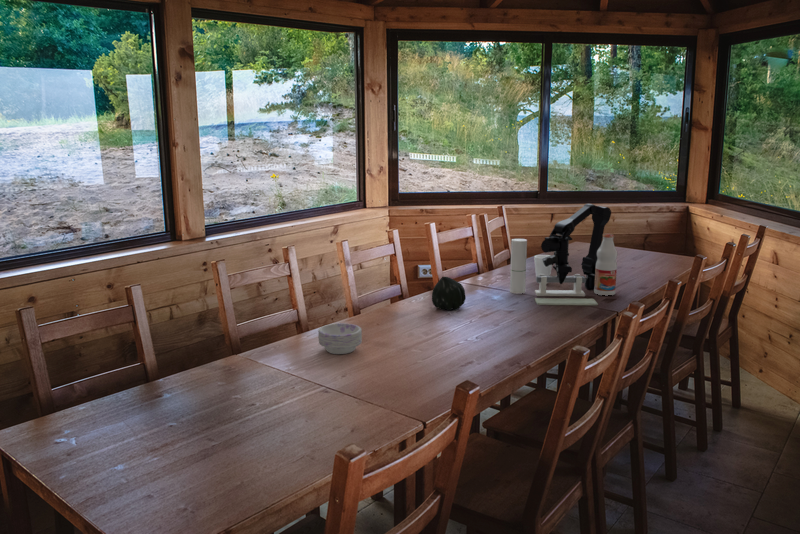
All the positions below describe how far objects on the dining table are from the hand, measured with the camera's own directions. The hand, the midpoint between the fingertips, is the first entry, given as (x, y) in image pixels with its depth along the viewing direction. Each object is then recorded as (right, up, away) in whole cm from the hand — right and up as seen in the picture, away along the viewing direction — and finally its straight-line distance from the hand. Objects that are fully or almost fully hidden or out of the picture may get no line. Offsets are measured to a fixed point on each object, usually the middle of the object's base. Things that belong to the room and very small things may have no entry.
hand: (560, 283), depth 292 cm
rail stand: (0, -5, +1) cm, 5 cm away
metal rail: (0, +1, 0) cm, 1 cm away
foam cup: (-3, 0, +25) cm, 25 cm away
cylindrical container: (-19, -4, +6) cm, 20 cm away
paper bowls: (-95, -22, -69) cm, 120 cm away
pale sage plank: (-1, -8, -12) cm, 15 cm away
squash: (-53, -10, -19) cm, 58 cm away
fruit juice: (+21, -5, +2) cm, 22 cm away
